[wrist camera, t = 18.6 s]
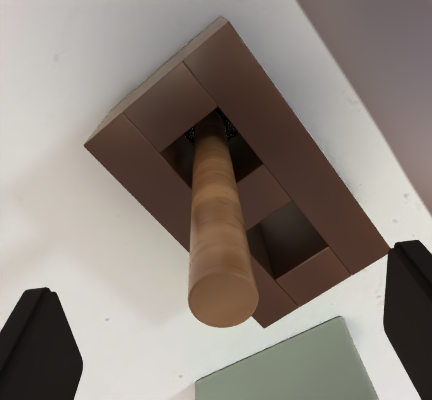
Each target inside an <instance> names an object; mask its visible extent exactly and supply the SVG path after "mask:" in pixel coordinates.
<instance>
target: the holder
mask: <svg viewBox="0 0 432 400" xmlns="http://www.w3.org/2000/svg"><path fill="white" fill-rule="evenodd" d="M217 107H219V108H220V109H221V110H222V112H223V113H224V114H225V115H226V117H227V118H228V119H229V121H230V122H231V123H232V124H233V126H234V127H235V128H236V129H237V131H238V132H239V134H237V135H236V136H235V137H233V138H232V139H231V140H229V141H228V146H229V151H230V156H231V161H232V166H233V171H234V176H235V181H236V186H237V191H238V196H239V201H240V206H241V211H242V216H243V221H244V226H245V231H246V236H247V241H248V246H249V250H250V255H251V260H252V265H253V270H254V275H255V280H256V285H257V290H258V304H257V307H256V309H255V311H254V313H253V314H252V315H251V316H252V317H253V318H254V319H255V320H256V321H257V322H258V323H259V324H260V325H261V326H262V327H263V328H266V327H268V326H269V325H271V324H273V323H274V322H276V321H278V320H279V319H281V318H282V317H284V316H286V315H287V314H289V313H291V312H292V311H294V310H296V309H297V308H298V307H301V306H302V305H304V304H306V303H307V302H309V301H311V300H312V299H314V298H316V297H317V296H319V295H320V294H322V293H324V292H325V291H327V290H329V289H330V288H332V287H334V286H335V285H337V284H339V283H340V282H342V281H344V280H345V279H347V278H348V277H350V276H351V275H354V274H356V273H357V272H359V271H360V270H362V269H364V268H365V267H367V266H369V265H370V264H372V263H374V262H375V261H377V260H379V259H380V258H382V257H384V256H385V255H387V254H388V251H389V249H391V248H390V247H389V246H388V244H387V243H386V241H385V240H384V239H383V237H382V236H381V234H380V233H379V232H378V230H377V229H376V227H375V226H374V225H373V223H372V222H371V220H370V219H369V218H368V216H367V215H366V213H365V212H364V211H363V209H362V208H361V206H360V205H359V203H358V202H357V201H356V199H355V198H354V196H353V195H352V194H351V192H350V191H349V189H348V188H347V187H346V185H345V184H344V182H343V181H342V180H341V178H340V177H339V175H338V174H337V173H336V171H335V170H334V168H333V167H332V166H331V164H330V163H329V161H328V160H327V159H326V157H325V156H324V154H323V153H322V152H321V150H320V149H319V147H318V146H317V145H316V143H315V142H314V140H313V139H312V137H311V136H310V135H309V133H308V132H307V130H306V129H305V128H304V126H303V125H302V123H301V122H300V121H299V119H298V118H297V116H296V115H295V114H294V112H293V111H292V109H291V108H290V107H289V105H288V104H287V102H286V101H285V100H284V98H283V97H282V95H281V94H280V93H279V91H278V90H277V88H276V87H275V86H274V84H273V83H272V81H271V80H270V79H269V77H268V76H267V74H266V73H265V71H264V70H263V69H262V67H261V66H260V64H259V63H258V62H257V60H256V59H255V57H254V56H253V55H252V53H251V52H250V50H249V49H248V48H247V46H246V45H245V43H244V42H243V41H242V39H241V38H240V36H239V35H238V34H237V32H236V31H235V29H234V28H233V27H232V25H231V24H230V22H229V21H227V20H226V19H225V18H223V17H222V16H220V17H219V18H218V19H216V20H215V21H214V22H213V23H212V24H211V25H209V26H208V27H207V28H206V29H205V30H204V31H202V32H201V33H200V34H199V35H198V36H197V37H196V38H194V39H193V40H192V41H191V42H190V43H189V44H187V46H185V47H184V48H183V49H182V50H180V51H179V52H178V53H177V54H176V55H175V56H173V57H172V58H171V59H170V60H169V61H168V62H167V63H165V64H164V65H163V66H162V67H161V68H160V69H158V70H157V71H156V72H155V73H154V74H153V75H151V76H150V77H149V78H148V79H147V80H146V81H144V82H143V83H142V84H141V85H140V86H139V87H138V88H136V89H135V90H134V91H133V92H132V93H131V94H129V95H128V96H127V97H126V98H125V99H124V100H122V101H121V102H120V103H119V104H118V105H117V106H116V107H114V108H113V109H112V110H111V111H110V112H109V114H108V115H107V116H106V117H105V119H104V120H103V121H102V122H101V124H100V125H99V126H98V127H97V129H96V130H95V131H94V132H93V134H92V135H91V136H90V137H89V139H88V140H87V141H86V142H85V144H84V147H85V148H86V149H87V150H88V151H89V152H90V153H91V154H92V155H93V156H94V157H95V158H96V159H97V160H98V161H99V162H100V163H101V164H102V165H103V166H104V167H105V168H106V169H107V170H108V171H109V172H110V173H111V174H112V175H113V176H114V177H115V178H116V179H117V180H118V181H119V182H120V183H121V184H122V185H123V186H124V187H125V188H126V189H127V190H128V191H129V192H130V193H131V194H132V195H133V196H134V197H135V198H136V199H137V201H138V202H139V203H140V204H141V205H142V206H143V207H144V208H145V209H146V210H147V211H148V212H149V213H150V214H151V215H152V216H153V217H154V218H155V219H156V220H157V221H158V222H159V223H160V224H161V225H162V226H163V227H164V228H165V229H166V230H167V231H168V232H169V233H170V234H171V235H172V236H173V237H174V238H175V239H176V240H177V241H178V242H179V243H180V244H181V245H182V246H183V247H184V248H185V249H186V250H187V251H188V252H189V253H190V234H191V207H192V180H193V154H194V146H193V145H192V144H191V143H190V141H189V140H188V139H187V138H186V137H185V136H184V133H185V132H187V131H188V130H189V129H190V128H192V127H193V126H194V125H195V124H197V123H198V122H199V121H200V120H202V119H203V118H204V117H206V116H207V115H208V114H209V113H211V112H212V111H213V110H214V109H216V108H217ZM260 221H261V222H260ZM259 222H260V223H259Z"/></svg>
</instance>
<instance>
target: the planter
mask: <svg viewBox="0 0 432 400" xmlns="http://www.w3.org/2000/svg"><path fill="white" fill-rule="evenodd" d="M195 400H379V398H378V396H377V394H376V391H375V389H374V387H373V385H372V383H371V380H370V378H369V376H368V374H367V371H366V369H365V367H364V365H363V362H362V360H361V358H360V356H359V354H358V351H357V349H356V347H355V345H354V342H353V340H352V338H351V336H350V333H349V331H348V329H347V327H346V325H345V322H344V320H343V318H342V317H337V318H335V319H332V320H330V321H328V322H326V323H323V324H321V325H319V326H317V327H315V328H312V329H310V330H308V331H306V332H304V333H301V334H299V335H297V336H295V337H293V338H290V339H288V340H286V341H284V342H282V343H279V344H277V345H275V346H273V347H271V348H268V349H266V350H264V351H262V352H260V353H257V354H255V355H253V356H251V357H249V358H246V359H244V360H242V361H240V362H238V363H235V364H233V365H231V366H229V367H227V368H224V369H222V370H220V371H218V372H216V373H213V374H211V375H209V376H207V377H205V378H202V379H200V380H198V381H197V382H196V384H195Z"/></svg>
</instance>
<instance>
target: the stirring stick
mask: <svg viewBox="0 0 432 400" xmlns="http://www.w3.org/2000/svg"><path fill="white" fill-rule="evenodd" d="M188 304H189V308H190V310H191V312H192V313H193V315H194V316H195V317H196V318H197V319H198V320H199V321H201V322H202V323H204V324H206V325H209V326H213V327H219V328H225V327H232V326H235V325H238V324H240V323H242V322H244V321H246V320H247V319H248V318H249V317H250V316H251V315H252V314H253V313H254V311H255V309H256V307H257V304H258V290H257V285H256V280H255V275H254V270H253V265H252V260H251V255H250V250H249V246H248V241H247V236H246V231H245V226H244V221H243V216H242V211H241V206H240V201H239V196H238V191H237V186H236V181H235V176H234V171H233V166H232V161H231V156H230V151H229V146H228V141H227V136H226V131H225V126H224V121H223V119H222V117H221V116H220V115H219V114H218V113H216V112H214V111H212V112H211V113H209V114H208V115H207V116H206V117H204V118H203V119H202V120H200V121H199V122H198V123H197V124H195V127H194V154H193V180H192V207H191V234H190V260H189V287H188Z"/></svg>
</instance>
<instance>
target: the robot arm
mask: <svg viewBox="0 0 432 400" xmlns="http://www.w3.org/2000/svg"><path fill="white" fill-rule="evenodd" d="M383 325H384V330H385V333H386V335H387V337H388V339H389V341H390V343H391V344H392V346H393V348H394V350H395V352H396V354H397V355H398V357H399V359H400V361H401V363H402V365H403V366H404V368H405V370H406V372H407V374H408V376H409V377H410V379H411V381H412V383H413V385H414V387H415V389H416V390H417V392H418V394H419V396H420V398H421V400H432V254H431V253H430V252H429V251H428V250H427V248H426V247H425V246H424V245H423V244H422V243H421V242H420V241H419V240H412V241H404V242H397V243H395V245H394V248H391V249H389V251H388V260H387V275H386V289H385V303H384V317H383ZM82 370H83V361H82V357H81V355H80V352H79V349H78V347H77V344H76V342H75V339H74V336H73V334H72V331H71V329H70V326H69V324H68V321H67V318H66V316H65V313H64V311H63V308H62V305H61V303H60V300H59V298H58V295H57V293H56V292H51V291H50V289H49V288H47V287H44V288H37V289H29V290H26V291H24V293H23V294H22V296H21V298H20V299H19V301H18V303H17V304H16V306H15V308H14V310H13V311H12V313H11V315H10V316H9V318H8V320H7V322H6V323H5V325H4V327H3V328H2V330H1V332H0V400H74V397H75V394H76V391H77V387H78V384H79V381H80V378H81V374H82Z"/></svg>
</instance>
